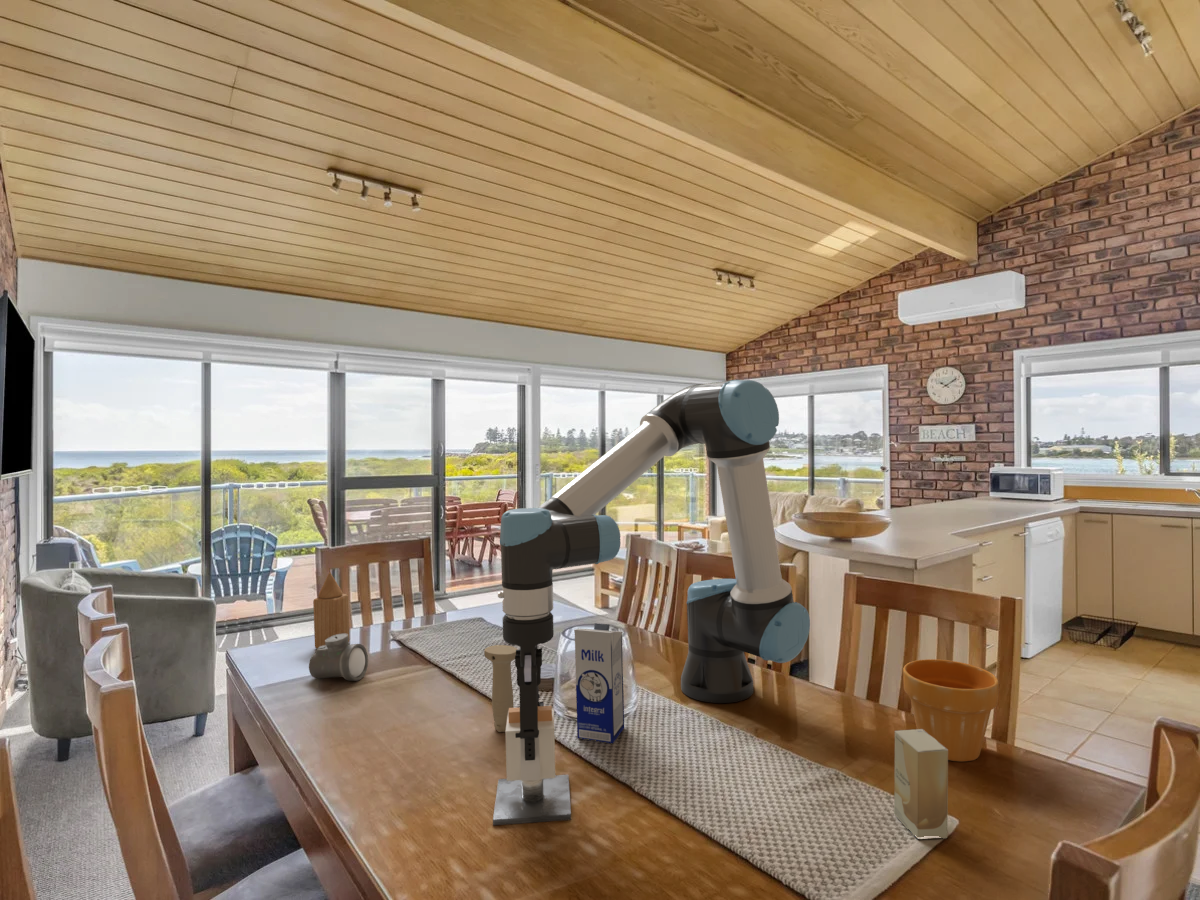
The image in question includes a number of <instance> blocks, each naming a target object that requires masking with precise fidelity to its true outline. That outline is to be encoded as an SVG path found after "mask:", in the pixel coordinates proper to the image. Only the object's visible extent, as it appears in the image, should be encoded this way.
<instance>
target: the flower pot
mask: <svg viewBox="0 0 1200 900" xmlns="http://www.w3.org/2000/svg"><path fill="white" fill-rule="evenodd" d="M902 671H903V672H902V677H903V678H902V681H903V690H904V693H905V694H906V695H907V696H908V697H909V699H910V703H911V707H912V712H913V716H914V721H915V727H916V729H923V730H924V731H925V732H927V733H928V734H929V735H930V736H932V737H933V738H935V739H936V740H937V741H938V742H939V743H940V744H941V745H943V746H944V747H945V748H946V749H948V761H953V762H961V763H962V762H970V761H976V759H978V758H979V757H980V754H981V751H982V747H983V744H984V740H985V735H986V732H987V728H988V724H989V719H990V716H991V713H992V710H994V709H995V708H996V707H997V706H998V704H999V703H998V702H999V685H1000V683H999V682H1000V681H999V679H998V677H997V676H995V674H993V673H992V672H990V671H988V670H986V669H984V668H982V667H979V666H976V665H974V664H969V663H964V662H961V661H955V660H948V659H938V658H937V659H936V658H935V659H933V658H932V659H927V658H926V659H918V660H913V661H910V662H908V663H906V664H905V665H904V666H903V668H902Z"/></svg>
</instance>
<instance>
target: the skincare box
mask: <svg viewBox="0 0 1200 900" xmlns="http://www.w3.org/2000/svg"><path fill="white" fill-rule="evenodd" d="M948 789H949V760H948V749H946V748H945V747H944V746H943V745H941V744H940V743H939V742H938V741H937V740H936V739H935V738H933V737H932V736H930V735H929V734H928V733H927V732H925V731H924V730H923V729H917V728H916V729H899V730H894V795H893V796H894V805H893V806H894V809H893V810H894V813H893V814H894V815H895V817H897V819H898V820H899V821H900V822H901V824H902V825H904V827H905V828H906V829H907V830H908V829H909V830H910V831H911V832H912V833H913V834H914V835H916V836H917V837H924V836H939V837H941V838H943V839H947V838H948V819H949V818H948V808H949V807H948V803H949V802H948V800H949V798H948V797H949V795H948V792H949V791H948ZM909 830H908V831H909ZM910 831H909V832H910ZM911 832H910V833H911ZM912 833H911V834H912ZM913 834H912V835H913ZM914 835H913V836H914Z"/></svg>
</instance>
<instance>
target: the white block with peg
mask: <svg viewBox="0 0 1200 900" xmlns="http://www.w3.org/2000/svg"><path fill="white" fill-rule="evenodd" d="M538 730H539V748H540V779H546V778H555V775H556V747H555V746H556V743H555V739H556V738H555V708H553V706H552V705H544V706H538ZM519 732H520V706H519V707H513V708H509V711H508V717H507V724H506V731H505V732H504V733H505V761H506V762H505V763H506V764H505V766H506V767H505V769H506V770H505V771H506V779H507V781H514V780H521V753H520V738H516V737H515V734H516V733H519Z"/></svg>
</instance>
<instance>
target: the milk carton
mask: <svg viewBox="0 0 1200 900" xmlns="http://www.w3.org/2000/svg"><path fill="white" fill-rule="evenodd" d="M610 625H611V624H609V623H606V624H605V623H598V622H595V623H594V626H593V629H592V628H579V627H578V628H575V629H573V630H574V655H575V656H574V657H575V658H574V659H575V661H574V662H575V699H576V701H575V702H576V732H577V734H576V736H577V737H576V738H577V739H578V738H582V739H581V740H584V739H589V740H588V741H591V740H596V741H595V742H598V741H599V742H598V743H604V742H606V744H611V743H612V744H614V743H615V742H616V740H617V739H618V737H619V736H620V735H621V733H622V732H623V731H624V729H625V705H624V704H625V702H624V693H625V692H624V666H623V665H624V663H623V661H624V660H623V655H624V654H623V631H616V630H610Z"/></svg>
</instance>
